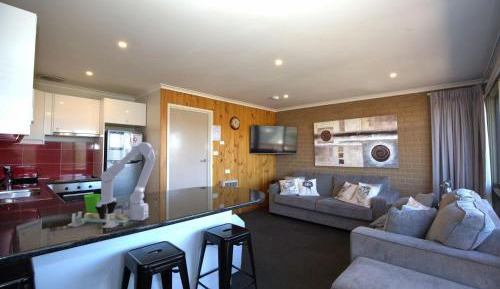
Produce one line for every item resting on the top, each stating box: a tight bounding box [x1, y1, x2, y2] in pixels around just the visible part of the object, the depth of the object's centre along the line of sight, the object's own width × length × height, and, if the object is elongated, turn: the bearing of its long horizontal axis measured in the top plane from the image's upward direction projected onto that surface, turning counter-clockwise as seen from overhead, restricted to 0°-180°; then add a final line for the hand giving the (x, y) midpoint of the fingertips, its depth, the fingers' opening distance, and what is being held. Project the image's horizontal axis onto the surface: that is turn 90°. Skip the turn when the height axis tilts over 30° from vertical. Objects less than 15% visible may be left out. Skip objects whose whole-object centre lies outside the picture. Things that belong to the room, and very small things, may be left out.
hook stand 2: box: [101, 212, 120, 229], centre depth 127 cm, size 5×6×6 cm
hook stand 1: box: [67, 211, 87, 228], centre depth 128 cm, size 5×6×6 cm
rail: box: [83, 212, 129, 220], centre depth 138 cm, size 24×2×2 cm, turn 86°
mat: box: [82, 216, 130, 224], centre depth 138 cm, size 26×10×1 cm, turn 88°
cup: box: [83, 193, 101, 213], centre depth 152 cm, size 9×9×11 cm
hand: (106, 217), depth 138 cm, fingers open, 7 cm apart
